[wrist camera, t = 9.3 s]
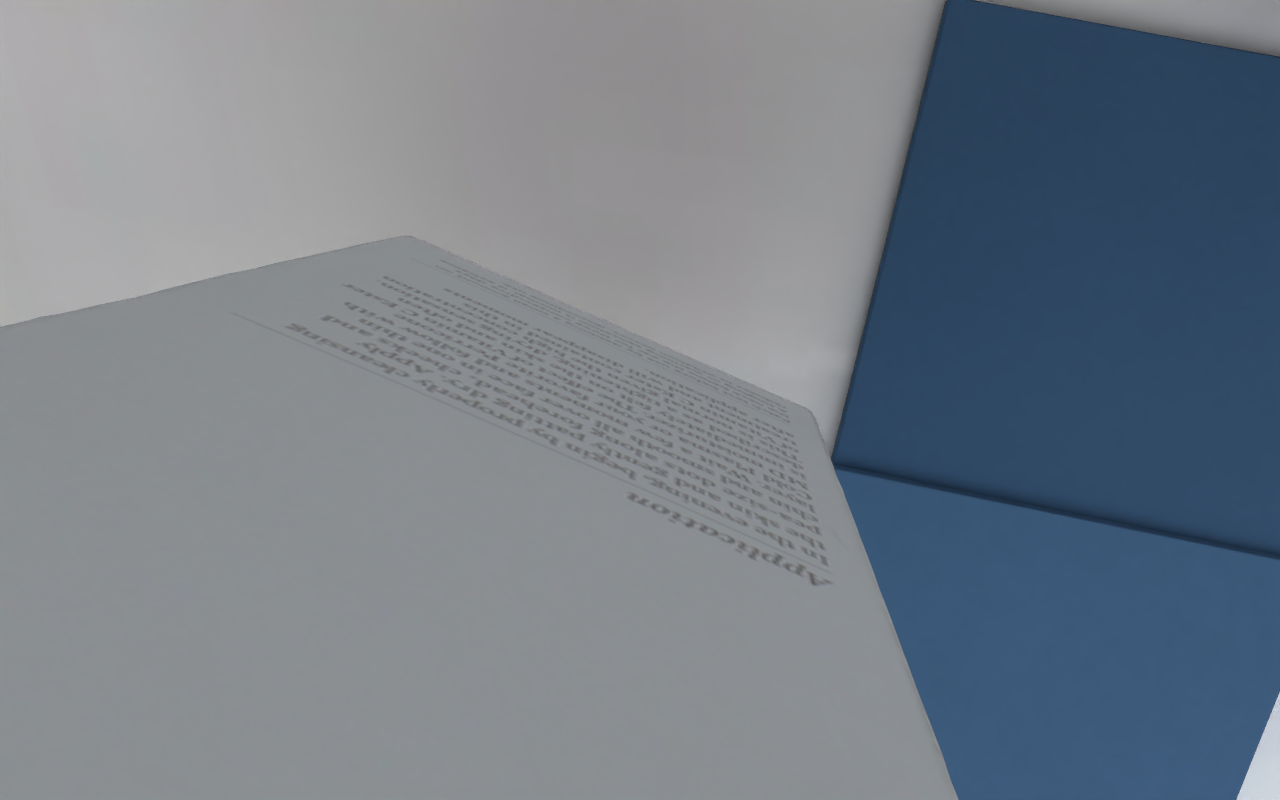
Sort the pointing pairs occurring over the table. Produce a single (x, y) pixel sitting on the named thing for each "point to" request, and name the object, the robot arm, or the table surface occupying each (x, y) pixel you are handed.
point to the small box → (425, 556)
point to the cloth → (1079, 409)
